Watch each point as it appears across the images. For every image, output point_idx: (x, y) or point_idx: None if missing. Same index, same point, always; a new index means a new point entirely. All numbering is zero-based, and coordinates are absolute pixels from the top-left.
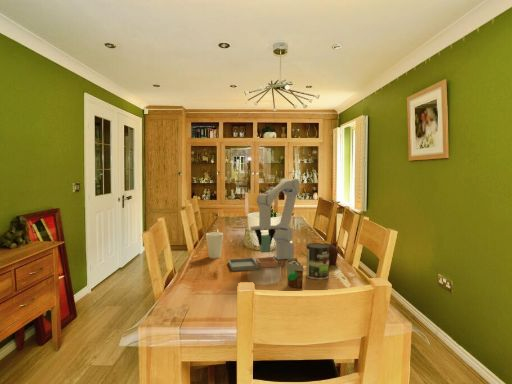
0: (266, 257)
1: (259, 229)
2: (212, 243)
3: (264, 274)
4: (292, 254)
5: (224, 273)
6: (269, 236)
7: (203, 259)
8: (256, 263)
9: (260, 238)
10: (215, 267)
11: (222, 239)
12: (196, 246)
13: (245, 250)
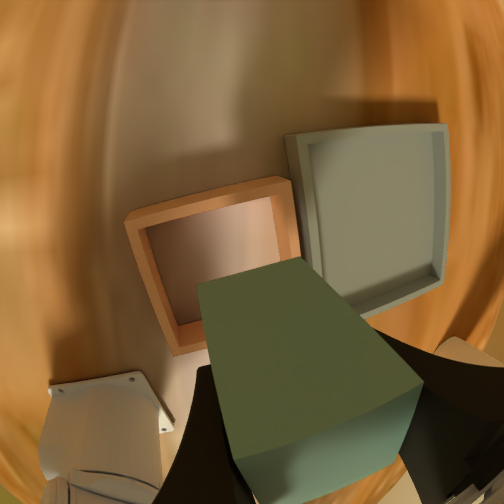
0: None
1: (490, 487)
2: (502, 365)
3: (249, 15)
4: (53, 408)
5: (454, 94)
6: (256, 446)
7: (479, 315)
8: (311, 187)
9: (410, 364)
10: (476, 200)
11: None
12: None
13: None
